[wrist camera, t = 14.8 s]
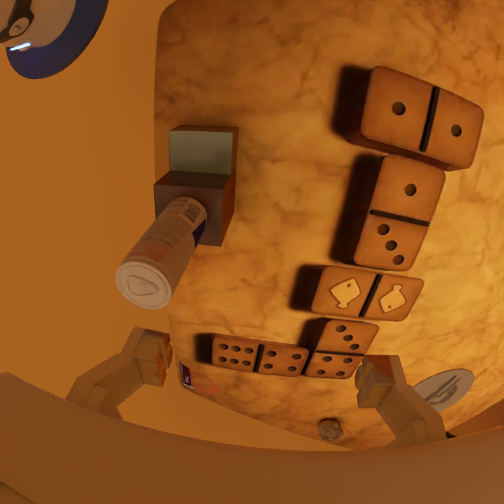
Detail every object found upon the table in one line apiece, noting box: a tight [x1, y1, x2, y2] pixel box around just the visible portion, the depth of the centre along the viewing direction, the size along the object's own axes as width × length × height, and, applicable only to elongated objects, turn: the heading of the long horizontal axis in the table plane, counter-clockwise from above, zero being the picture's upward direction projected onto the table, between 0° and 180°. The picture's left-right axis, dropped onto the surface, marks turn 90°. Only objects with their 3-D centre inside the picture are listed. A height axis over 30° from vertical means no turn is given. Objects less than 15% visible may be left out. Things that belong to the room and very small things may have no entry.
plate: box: [412, 369, 474, 413], centre depth 73 cm, size 28×28×1 cm
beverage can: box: [116, 197, 208, 309], centre depth 32 cm, size 6×6×15 cm
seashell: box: [318, 420, 344, 441], centre depth 80 cm, size 9×7×8 cm
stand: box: [154, 125, 238, 247], centre depth 41 cm, size 14×9×11 cm, turn 176°
